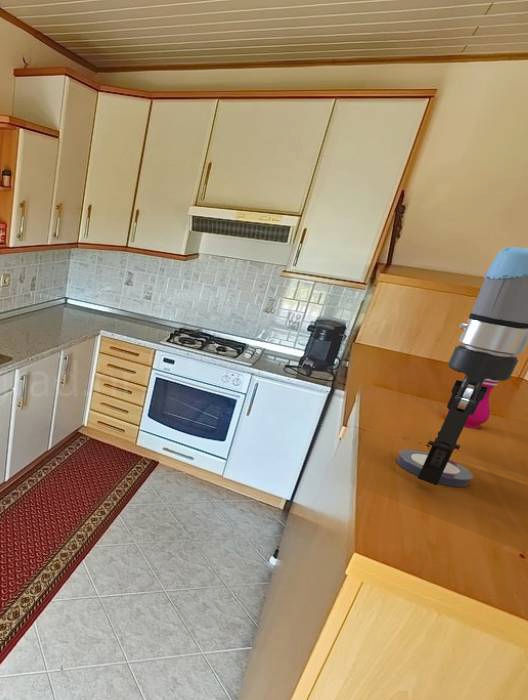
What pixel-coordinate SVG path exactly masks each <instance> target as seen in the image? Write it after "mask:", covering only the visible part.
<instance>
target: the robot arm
mask: <svg viewBox="0 0 528 700" xmlns="http://www.w3.org/2000/svg"><path fill="white" fill-rule="evenodd" d="M458 329H460V330H464V331H462V332H461V334H460V337H459V339H458V342H459V343H460V344H461V345H457V346H455V347H454V349H453V352H452V354H451V356H450V359H449V360H448V363H447V366H448V368H450V370H453V371H455V372H458V373H462V374H464V375H465V376H464V379H462V380H459V379H456V380H455V382H454V384H453V386H452V388H451V396H450V398H449V400H448V403H447V405H446V408H447V410H448V409H449V412H448V411H447V415H446V417H445V418H444V421H443V423H442V425H441V428H440V430H439V431H438V432H437V437H435V439H434V441H433V440H430V439H429V441H428V443H427V445H428V446H431V447H430V449H429V451H428V453H429V454H428V456H427V458H426V460H425V463H424V465H423V467H422V469H421V472H420V474H419V476H417V480H420V481H423V482H425V483H428V484H431V485H434V486H438V485H439V483H438V482H439V480H440V478H441V476H442V473H443V471H444V469H445V467H446V465H447V463H448V461H449V460H450V459H451V457H452V454H453V452H454V450H458V451H459V450H460V449H461V444H457V442H458V441H459V438H460V436H461V434H462V432H463V429H464V428H465V426H464V425H465V423H466V421H467V419H468V417H469V415H473V414H474V413H475V410H476V408H477V406H478V404H479V402H480V401H481V400H483V398H484V396H485V394H486V392H487V389H488V387H484V386H482V384H483V382H484V379H491V380H496V381H499V382H505V381H508V380H510V379H511V377H512V375H513V373H514V371H515V368H516V366H517V364H518V362H519V359H518V357H517V356H520V355H523V353H524V352H525V350H526V348H527V345H528V247H519V246H518V247H517V246H508V247H505V248H503V249H501V250H499V252H498V253H497V254H496V255H495V258H494V259H493V260H492V262H491V265H490V266H489V269H488V271H487V272H486V274H484V280H483V281H482V284H481V287H480V289H479V292H478V295H477V297H476V299H475V302H474V304H473V306H472V310H471V312H470V313H469V316H468V318H467V320H466V322H461V323H460V324H459V326H458Z"/></svg>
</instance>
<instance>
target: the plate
mask: <svg viewBox="0 0 528 700" xmlns="http://www.w3.org/2000/svg"><path fill="white" fill-rule="evenodd" d="M428 454H429V452H426V451H420V450H414V449H402V450H400V451H399V452H398V454H397V456H396V459H395V460H396V463H397V465H398V466H400V467H401V468H402V469H404V470H405V471H407V472H409V473H410V474H413V475H414V476H417V477H418V476H419V474H420V472H421V469H422V467H423V465H424V463H425V460H426V458H427V456H428ZM473 478H474V475H473V473H472V472H471V471H470V470H469V469H467V468H466V467H464V466H463V465H461V464H459V463H457V462H454V461H452V460H451V459H449V461H448V463H447V465H446V467H445V469H444V471H443V473H442V476H441V478H440V480H439V482H438V485H439V484H440V485H443V486H446V487H447V486H448V487H454V488H466V487H468V486H469V485H470V484H471V482H472V480H473Z"/></svg>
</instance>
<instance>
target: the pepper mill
mask: <svg viewBox="0 0 528 700" xmlns="http://www.w3.org/2000/svg"><path fill="white" fill-rule="evenodd" d="M499 382H500V381H496V380H491V379H484V382H483V384H482V386H484V387H488V389H487V392H486V394H485V396H484V398H483V400H481V401H480V402H479V404H478V406H477V408H476V410H475V413H474V414H473V415H469V417H468V419H467V421H466V423H465V425H464V428H469V429H480V425H482V424H485V423H486V422H488V421H489V418H490V416H491V410H490V409H491V408H490V394H491V393H492V390H493V389H494V387H496V386H498V385H499V384H498V383H499ZM448 412H449V409H448V408H447V413H448Z"/></svg>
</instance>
